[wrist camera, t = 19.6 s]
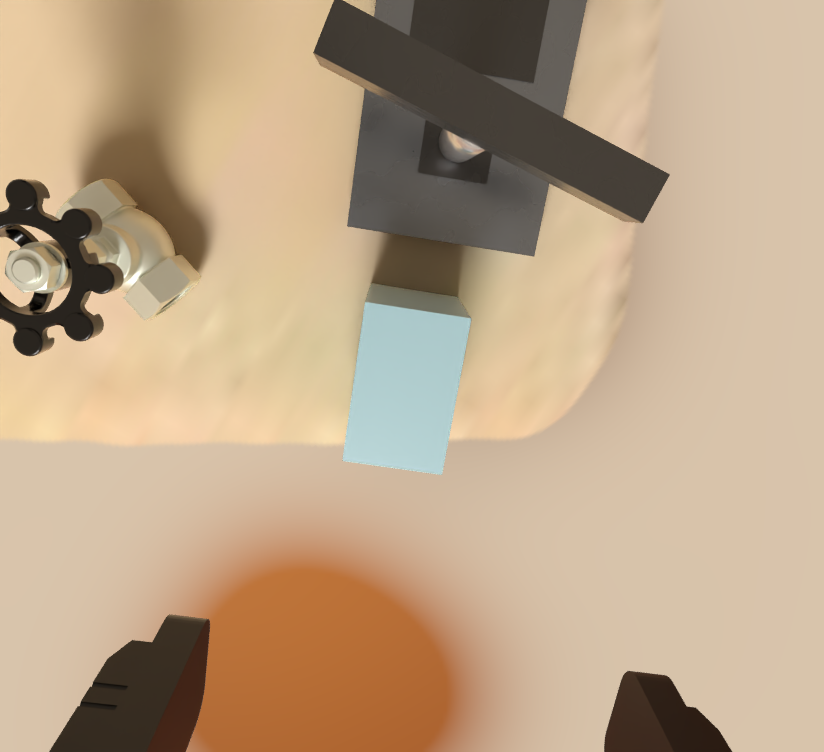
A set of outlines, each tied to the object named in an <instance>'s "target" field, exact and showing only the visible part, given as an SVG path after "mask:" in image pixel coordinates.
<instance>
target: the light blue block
mask: <svg viewBox="0 0 824 752" xmlns="http://www.w3.org/2000/svg"><path fill="white" fill-rule="evenodd" d="M470 323H471V317H470V316H469V314H468V312H467V311H466V309H465V308H464V306H463V304H462V303H461V301H460V300H459V298H458V297H456V296H449V295H443V294H437V293H430V292H424V291H418V290H411V289H405V288H399V287H392V286H386V285H380V284H374V283H371V285H370V288H369V291H368V294H367V298H366V301H365V307H364V314H363V321H362V328H361V335H360V342H359V349H358V356H357V363H356V370H355V377H354V384H353V391H352V398H351V405H350V412H349V419H348V426H347V433H346V440H345V447H344V454H343V461H347V462H354V463H361V464H369V465H375V466H383V467H390V468H397V469H404V470H411V471H418V472H426V473H432V474H439V475H442V471H443V467H444V461H445V455H446V451H447V445H448V440H449V435H450V429H451V424H452V419H453V413H454V408H455V403H456V397H457V392H458V387H459V382H460V376H461V371H462V366H463V360H464V355H465V350H466V344H467V339H468V334H469V328H470Z"/></svg>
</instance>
